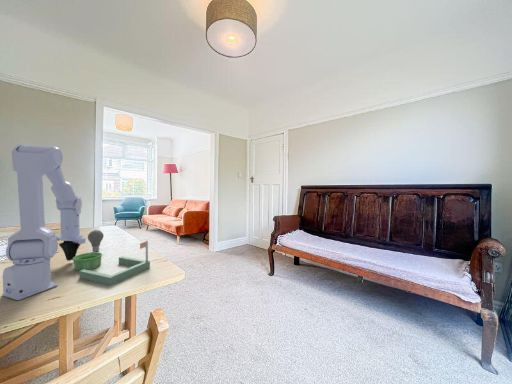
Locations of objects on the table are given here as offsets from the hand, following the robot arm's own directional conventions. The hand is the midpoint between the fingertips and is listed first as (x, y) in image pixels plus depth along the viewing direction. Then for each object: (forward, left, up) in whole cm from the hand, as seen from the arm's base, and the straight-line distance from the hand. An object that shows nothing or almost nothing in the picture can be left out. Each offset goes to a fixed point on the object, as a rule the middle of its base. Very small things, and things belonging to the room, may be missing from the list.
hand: (70, 259), depth 88 cm
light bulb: (+14, +6, -2) cm, 15 cm away
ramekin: (0, -10, -2) cm, 10 cm away
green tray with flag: (0, -25, -1) cm, 25 cm away
